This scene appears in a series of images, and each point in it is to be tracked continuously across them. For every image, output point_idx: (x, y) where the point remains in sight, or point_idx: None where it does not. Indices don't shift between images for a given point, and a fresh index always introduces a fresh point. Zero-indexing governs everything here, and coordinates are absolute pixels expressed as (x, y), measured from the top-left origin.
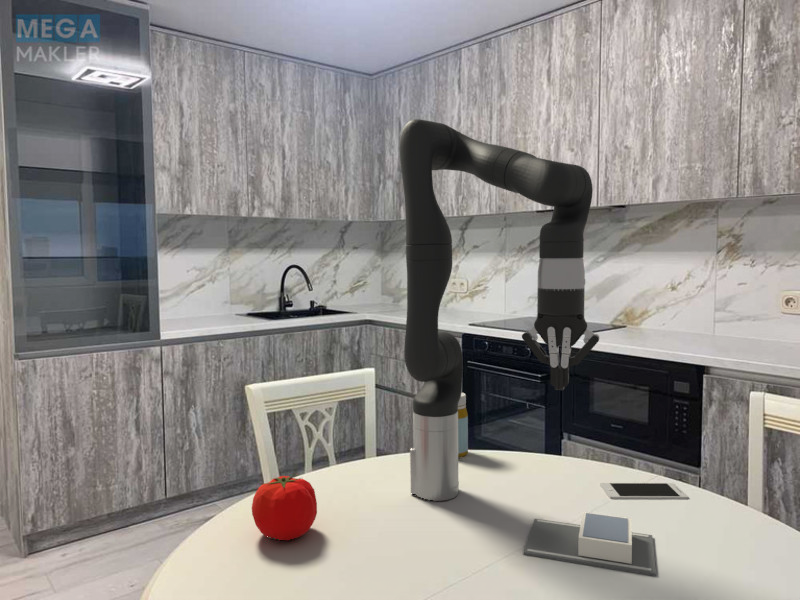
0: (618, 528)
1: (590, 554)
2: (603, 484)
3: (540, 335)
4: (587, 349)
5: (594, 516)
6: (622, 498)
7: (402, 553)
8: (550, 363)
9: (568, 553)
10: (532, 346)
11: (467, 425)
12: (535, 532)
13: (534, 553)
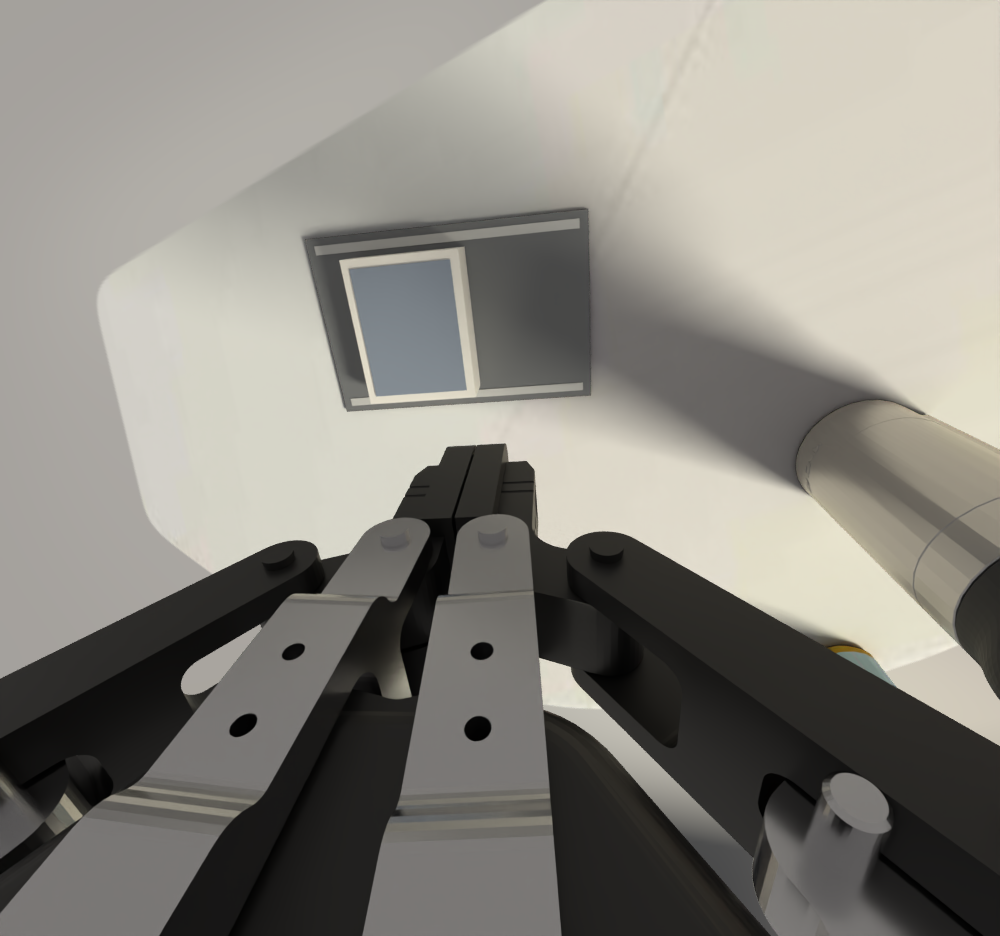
0: (383, 334)
1: (437, 249)
2: None
3: (726, 886)
4: (70, 663)
5: (445, 378)
6: None
7: (915, 54)
8: (526, 534)
9: (487, 250)
10: (794, 666)
11: None
12: (577, 325)
13: (560, 212)
